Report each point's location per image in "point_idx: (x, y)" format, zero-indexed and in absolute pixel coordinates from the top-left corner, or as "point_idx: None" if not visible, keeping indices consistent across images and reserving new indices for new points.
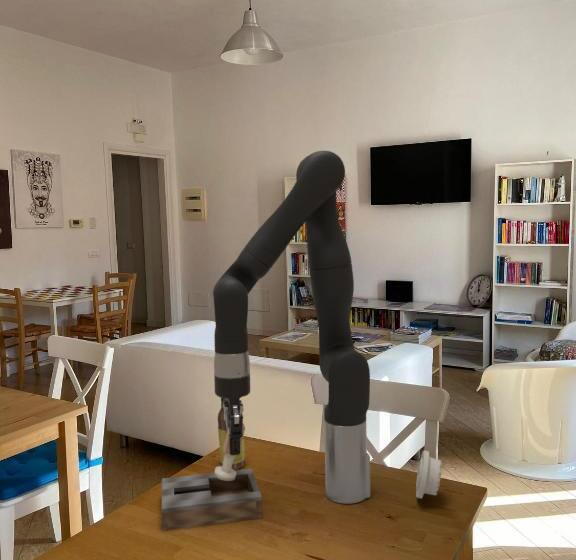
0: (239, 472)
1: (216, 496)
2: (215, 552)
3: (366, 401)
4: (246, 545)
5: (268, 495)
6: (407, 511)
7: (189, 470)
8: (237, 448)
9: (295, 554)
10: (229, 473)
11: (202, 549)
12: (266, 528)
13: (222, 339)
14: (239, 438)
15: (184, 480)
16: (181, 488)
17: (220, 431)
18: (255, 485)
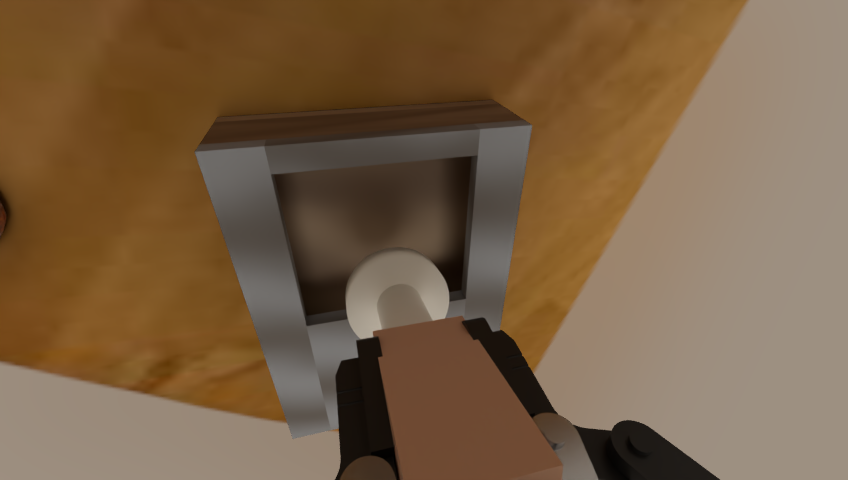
0: (253, 214)
1: (467, 285)
2: (602, 235)
3: None
4: (614, 163)
5: (306, 44)
6: None
7: (44, 359)
8: (519, 361)
9: (733, 18)
10: (423, 287)
11: (576, 262)
12: (560, 93)
13: None
14: (530, 409)
15: (317, 386)
16: None
17: None
18: (419, 144)
